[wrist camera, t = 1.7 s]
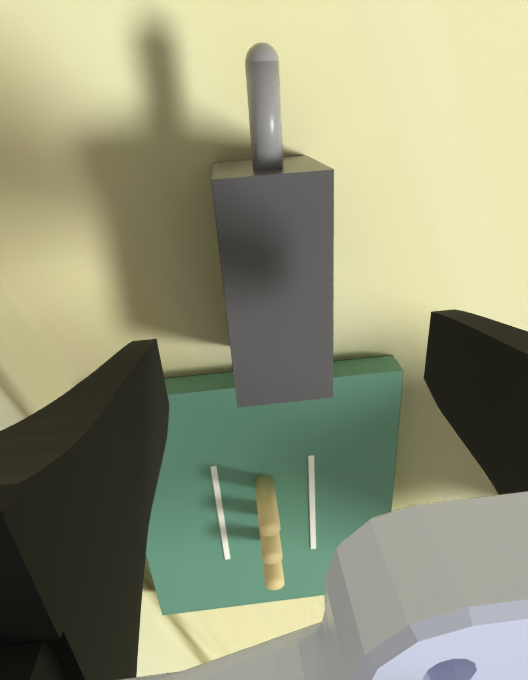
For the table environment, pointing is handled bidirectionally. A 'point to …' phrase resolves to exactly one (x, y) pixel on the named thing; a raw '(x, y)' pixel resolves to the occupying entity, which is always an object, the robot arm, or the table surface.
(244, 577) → the header board
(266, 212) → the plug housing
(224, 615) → the table surface
